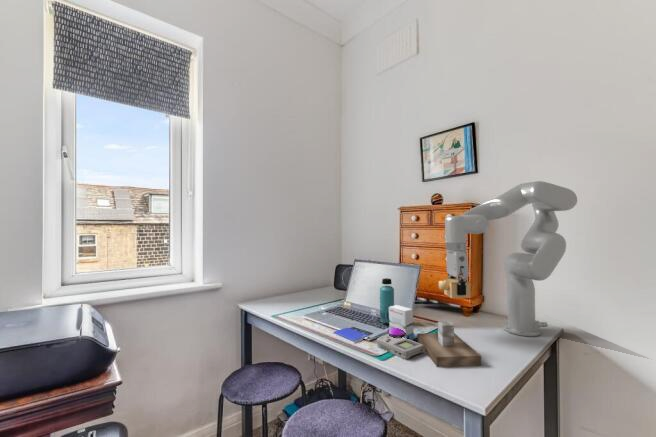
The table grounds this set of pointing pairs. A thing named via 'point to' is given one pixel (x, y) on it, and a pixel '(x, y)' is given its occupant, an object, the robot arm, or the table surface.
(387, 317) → the beverage bottle
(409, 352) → the handheld gaming console
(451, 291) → the beige knobbed block
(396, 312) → the ink box
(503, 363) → the table surface
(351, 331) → the hard drive
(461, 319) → the table surface
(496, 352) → the table surface
